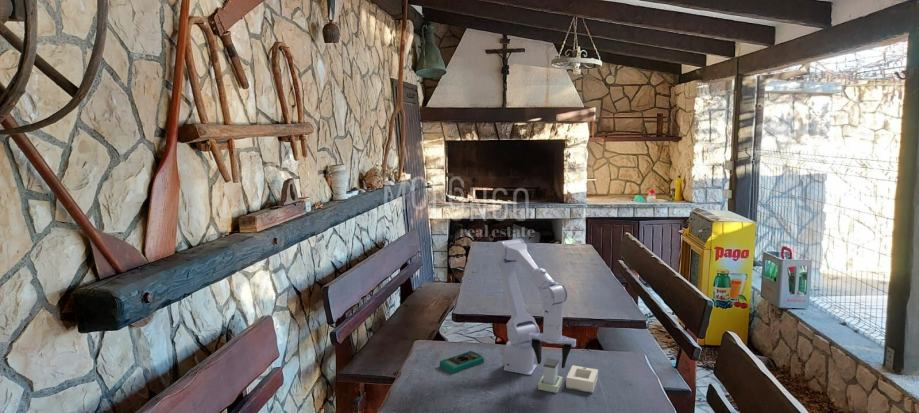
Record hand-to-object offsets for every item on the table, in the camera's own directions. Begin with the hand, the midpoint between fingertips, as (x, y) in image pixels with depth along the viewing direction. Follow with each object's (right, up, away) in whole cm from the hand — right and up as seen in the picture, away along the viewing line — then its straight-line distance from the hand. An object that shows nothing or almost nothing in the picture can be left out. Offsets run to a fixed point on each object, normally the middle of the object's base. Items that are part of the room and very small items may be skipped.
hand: (551, 364), depth 177 cm
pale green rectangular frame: (0, -7, +1) cm, 7 cm away
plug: (0, -7, +1) cm, 7 cm away
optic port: (+10, -7, +3) cm, 13 cm away
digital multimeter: (-28, -5, +16) cm, 33 cm away
